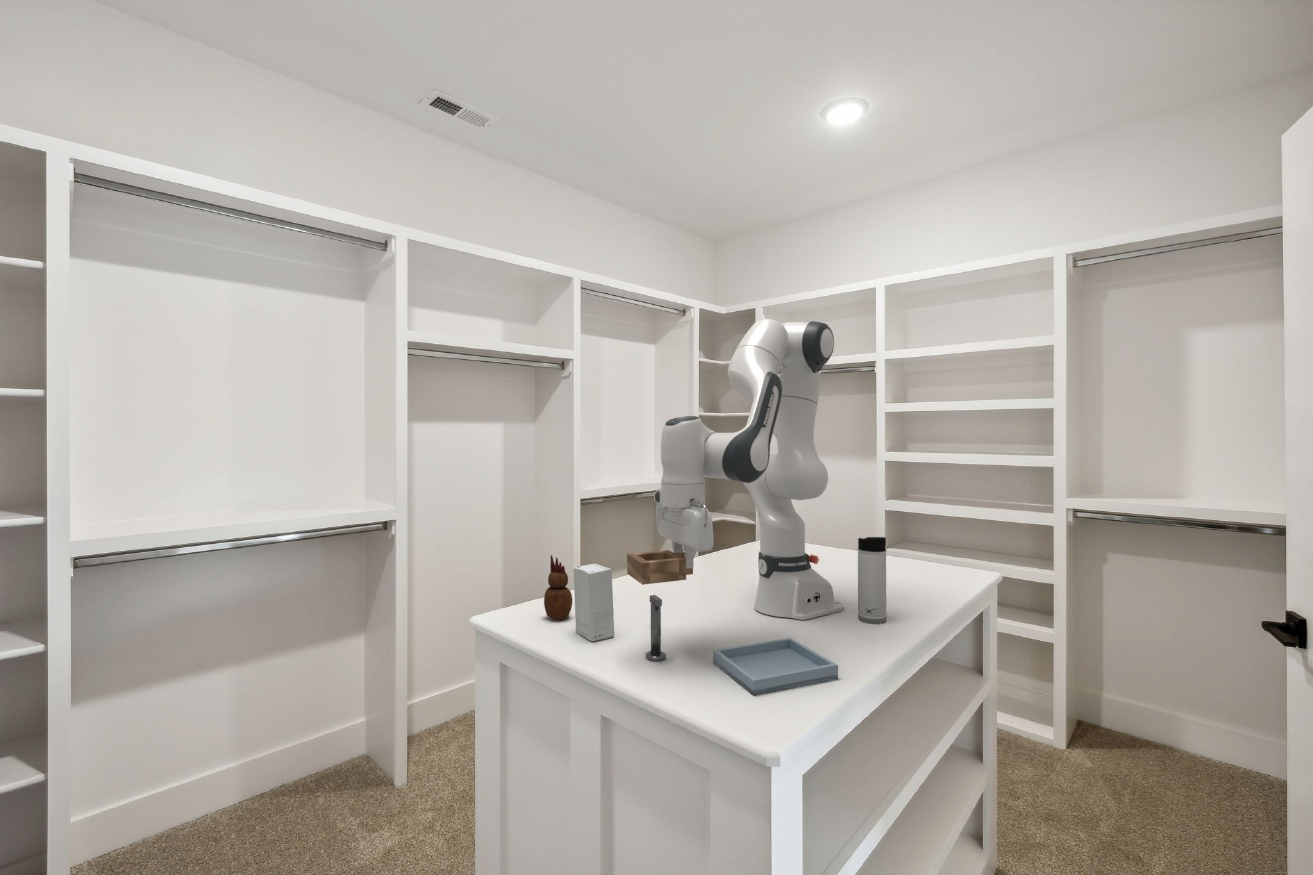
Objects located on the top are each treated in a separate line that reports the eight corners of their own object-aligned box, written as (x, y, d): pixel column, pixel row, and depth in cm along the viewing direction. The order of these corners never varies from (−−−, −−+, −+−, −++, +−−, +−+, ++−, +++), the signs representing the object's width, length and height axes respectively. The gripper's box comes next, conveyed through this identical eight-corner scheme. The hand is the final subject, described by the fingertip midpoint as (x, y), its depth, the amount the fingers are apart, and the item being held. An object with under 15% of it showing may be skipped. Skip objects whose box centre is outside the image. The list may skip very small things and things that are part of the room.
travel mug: (872, 626, 129) (872, 538, 129) (852, 617, 135) (852, 534, 135) (893, 622, 132) (893, 536, 132) (872, 614, 138) (872, 532, 138)
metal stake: (661, 652, 114) (661, 593, 114) (669, 659, 110) (668, 599, 110) (642, 655, 112) (642, 595, 112) (649, 662, 108) (649, 601, 108)
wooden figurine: (539, 618, 135) (539, 555, 135) (559, 612, 140) (559, 552, 140) (557, 624, 131) (556, 559, 131) (576, 618, 135) (576, 555, 135)
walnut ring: (681, 567, 118) (681, 548, 118) (700, 578, 110) (700, 557, 110) (627, 573, 114) (626, 553, 114) (642, 584, 105) (642, 563, 105)
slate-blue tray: (790, 650, 115) (790, 637, 115) (838, 678, 101) (838, 664, 101) (713, 663, 108) (713, 650, 108) (753, 695, 95) (753, 680, 95)
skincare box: (614, 637, 122) (614, 569, 122) (589, 643, 119) (589, 572, 119) (597, 626, 129) (596, 561, 129) (572, 631, 126) (572, 565, 126)
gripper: (721, 501, 105) (722, 575, 105) (677, 491, 124) (678, 554, 124) (690, 503, 102) (691, 579, 103) (650, 492, 121) (651, 556, 122)
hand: (683, 565), depth 113 cm, fingers closed on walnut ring, 2 cm apart
